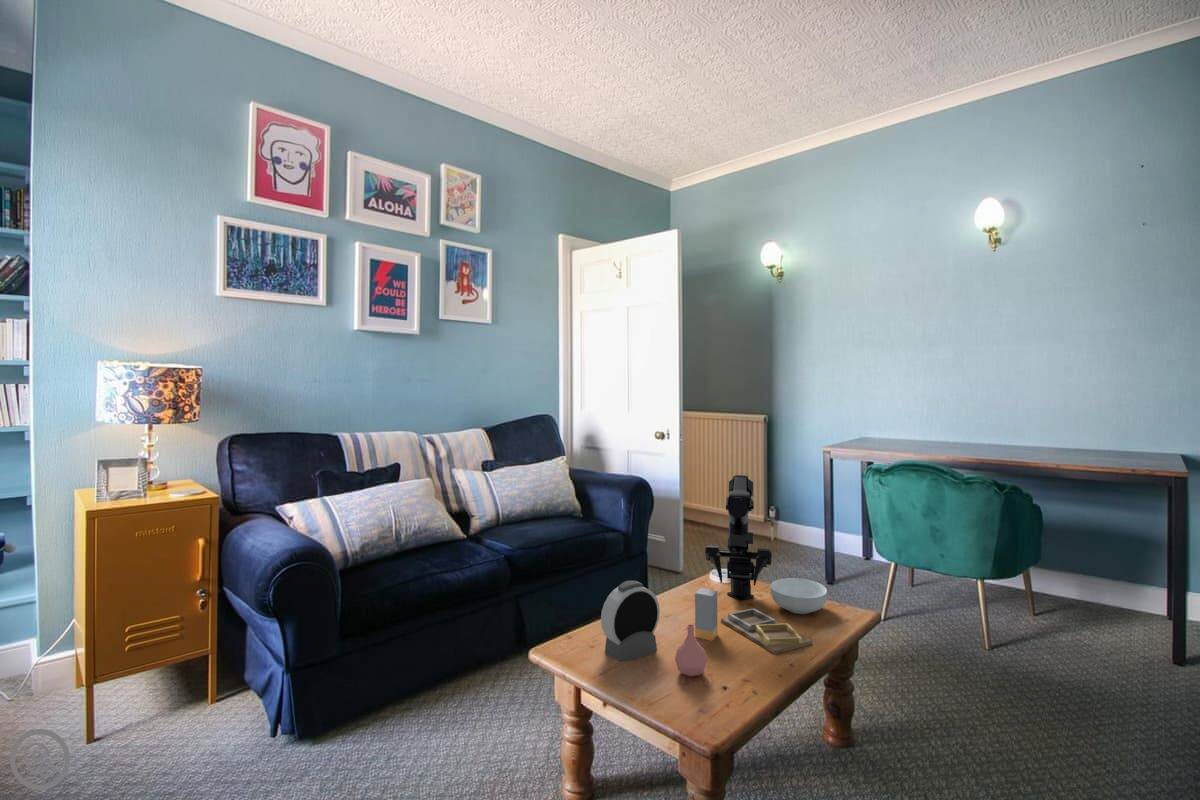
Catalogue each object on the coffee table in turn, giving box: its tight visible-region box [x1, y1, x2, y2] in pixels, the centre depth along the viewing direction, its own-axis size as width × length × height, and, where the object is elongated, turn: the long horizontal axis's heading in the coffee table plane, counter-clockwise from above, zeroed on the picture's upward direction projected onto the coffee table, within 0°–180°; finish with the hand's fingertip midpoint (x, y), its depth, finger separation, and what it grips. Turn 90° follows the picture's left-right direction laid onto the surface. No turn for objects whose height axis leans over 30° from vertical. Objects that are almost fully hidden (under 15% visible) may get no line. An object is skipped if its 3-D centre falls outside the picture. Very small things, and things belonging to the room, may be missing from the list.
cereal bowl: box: [769, 577, 828, 615], centre depth 182 cm, size 17×17×7 cm
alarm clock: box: [600, 580, 661, 662], centre depth 156 cm, size 16×10×18 cm, turn 123°
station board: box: [720, 607, 813, 655], centre depth 166 cm, size 23×13×2 cm, turn 25°
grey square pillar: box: [694, 587, 718, 641], centre depth 164 cm, size 4×5×12 cm
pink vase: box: [674, 624, 708, 677], centre depth 143 cm, size 8×8×12 cm
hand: (737, 583), depth 166 cm, fingers open, 9 cm apart
